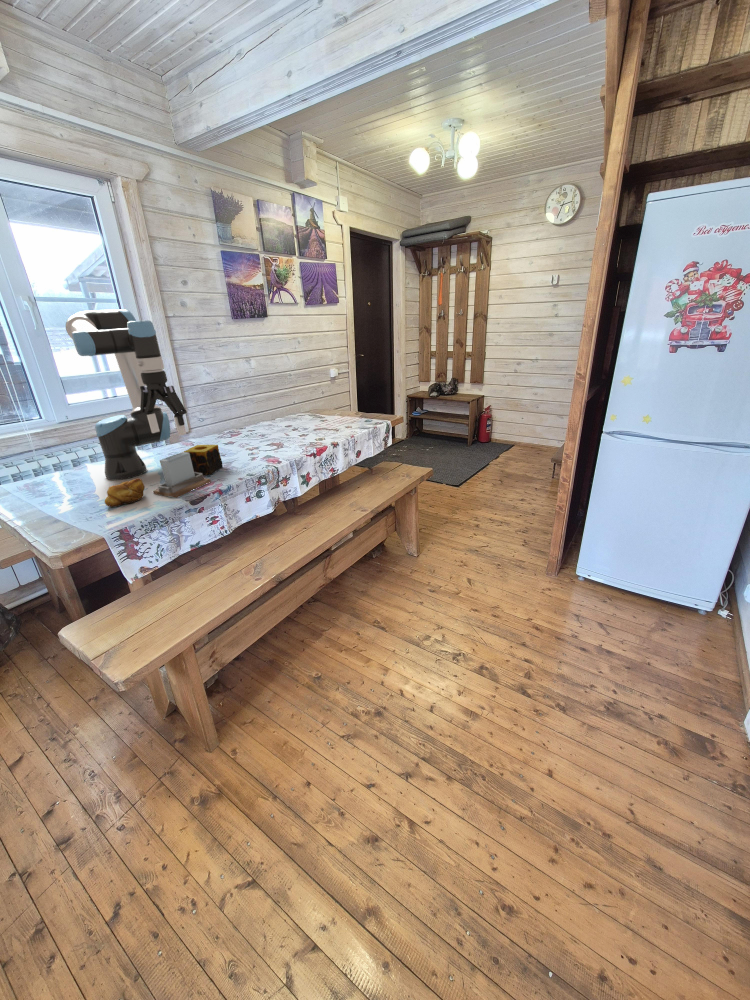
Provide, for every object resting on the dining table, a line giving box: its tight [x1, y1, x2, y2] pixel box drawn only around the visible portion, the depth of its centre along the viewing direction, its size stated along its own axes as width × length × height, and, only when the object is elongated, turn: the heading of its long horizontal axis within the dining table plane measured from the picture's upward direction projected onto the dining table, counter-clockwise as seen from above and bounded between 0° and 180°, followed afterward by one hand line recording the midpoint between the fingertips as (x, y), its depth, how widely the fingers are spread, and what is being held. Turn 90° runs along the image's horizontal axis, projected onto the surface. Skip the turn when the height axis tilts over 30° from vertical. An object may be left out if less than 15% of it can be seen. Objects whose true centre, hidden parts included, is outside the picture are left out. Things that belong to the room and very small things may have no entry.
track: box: [152, 472, 212, 499], centre depth 155 cm, size 12×16×3 cm
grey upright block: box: [159, 451, 195, 487], centre depth 153 cm, size 4×10×11 cm, turn 154°
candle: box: [183, 444, 224, 476], centre depth 170 cm, size 10×10×10 cm
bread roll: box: [104, 477, 146, 508], centre depth 144 cm, size 13×10×8 cm
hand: (168, 433), depth 147 cm, fingers open, 13 cm apart
